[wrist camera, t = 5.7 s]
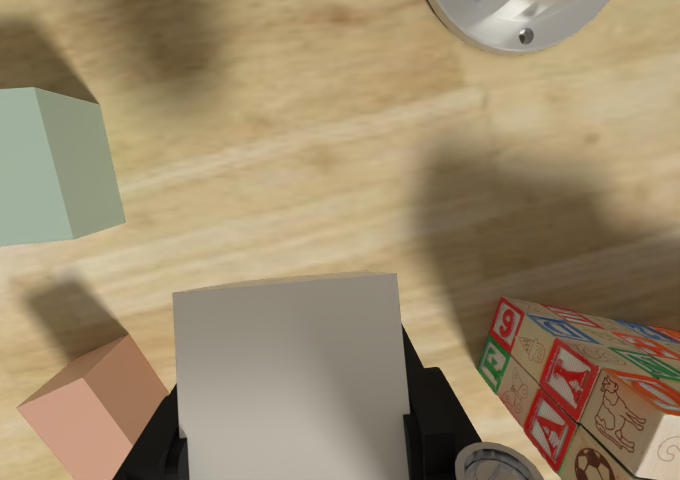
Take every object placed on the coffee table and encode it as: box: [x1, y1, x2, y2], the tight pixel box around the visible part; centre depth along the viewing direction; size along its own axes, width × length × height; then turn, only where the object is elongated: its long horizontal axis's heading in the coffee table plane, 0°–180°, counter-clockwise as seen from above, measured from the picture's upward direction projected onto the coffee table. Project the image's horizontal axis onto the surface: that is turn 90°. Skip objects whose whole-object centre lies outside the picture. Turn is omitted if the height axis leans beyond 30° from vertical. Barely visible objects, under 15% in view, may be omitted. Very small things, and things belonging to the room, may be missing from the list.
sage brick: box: [0, 87, 126, 246], centre depth 19 cm, size 7×4×5 cm, turn 5°
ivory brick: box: [173, 270, 410, 480], centre depth 8 cm, size 7×4×5 cm, turn 4°
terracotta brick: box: [17, 334, 170, 480], centre depth 22 cm, size 7×4×5 cm, turn 24°
